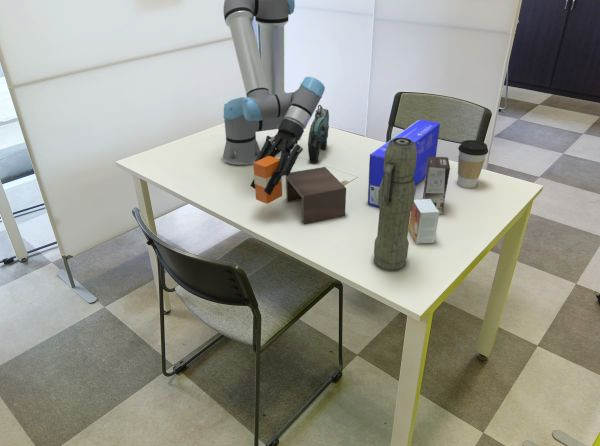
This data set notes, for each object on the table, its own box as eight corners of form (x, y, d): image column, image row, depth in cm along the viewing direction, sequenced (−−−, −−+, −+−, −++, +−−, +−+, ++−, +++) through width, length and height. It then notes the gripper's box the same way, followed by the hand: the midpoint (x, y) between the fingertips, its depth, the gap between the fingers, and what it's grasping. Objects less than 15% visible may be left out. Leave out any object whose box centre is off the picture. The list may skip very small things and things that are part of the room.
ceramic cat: (317, 145, 205) (317, 98, 195) (332, 146, 204) (333, 99, 193) (305, 163, 189) (304, 113, 178) (321, 165, 187) (321, 115, 177)
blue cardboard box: (414, 164, 187) (419, 118, 177) (434, 169, 183) (441, 122, 173) (365, 204, 160) (369, 152, 150) (388, 211, 156) (393, 158, 146)
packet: (255, 199, 151) (252, 162, 145) (270, 191, 156) (269, 155, 149) (267, 204, 148) (265, 167, 142) (282, 195, 153) (281, 159, 147)
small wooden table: (286, 200, 163) (285, 173, 158) (324, 193, 167) (324, 166, 162) (303, 224, 149) (303, 195, 144) (345, 216, 154) (346, 188, 148)
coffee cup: (486, 183, 172) (494, 144, 164) (473, 193, 166) (481, 152, 158) (460, 175, 178) (467, 137, 170) (447, 184, 172) (453, 145, 164)
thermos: (413, 256, 134) (429, 137, 116) (395, 278, 126) (409, 153, 108) (384, 246, 138) (396, 130, 120) (365, 266, 130) (374, 144, 112)
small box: (408, 229, 146) (412, 199, 141) (426, 228, 146) (430, 198, 141) (415, 244, 139) (420, 212, 134) (434, 243, 140) (439, 211, 134)
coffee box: (442, 215, 154) (450, 168, 145) (422, 213, 155) (428, 167, 146) (441, 201, 161) (448, 156, 153) (421, 199, 162) (428, 155, 154)
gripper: (322, 136, 148) (288, 203, 146) (278, 124, 158) (246, 186, 156) (311, 124, 142) (275, 194, 139) (266, 112, 152) (232, 177, 149)
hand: (260, 190), depth 147 cm, fingers closed on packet, 5 cm apart
